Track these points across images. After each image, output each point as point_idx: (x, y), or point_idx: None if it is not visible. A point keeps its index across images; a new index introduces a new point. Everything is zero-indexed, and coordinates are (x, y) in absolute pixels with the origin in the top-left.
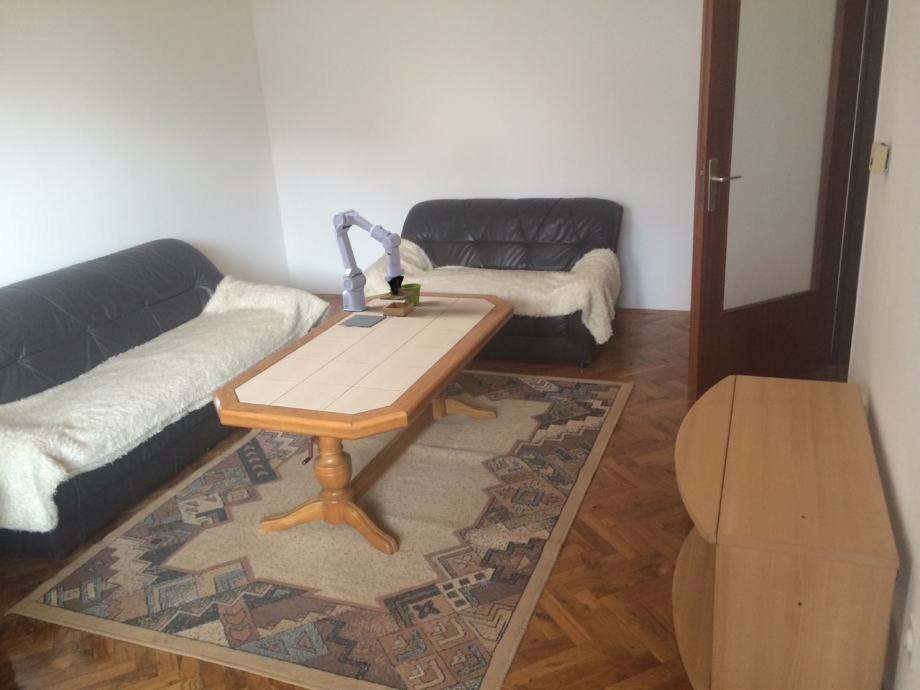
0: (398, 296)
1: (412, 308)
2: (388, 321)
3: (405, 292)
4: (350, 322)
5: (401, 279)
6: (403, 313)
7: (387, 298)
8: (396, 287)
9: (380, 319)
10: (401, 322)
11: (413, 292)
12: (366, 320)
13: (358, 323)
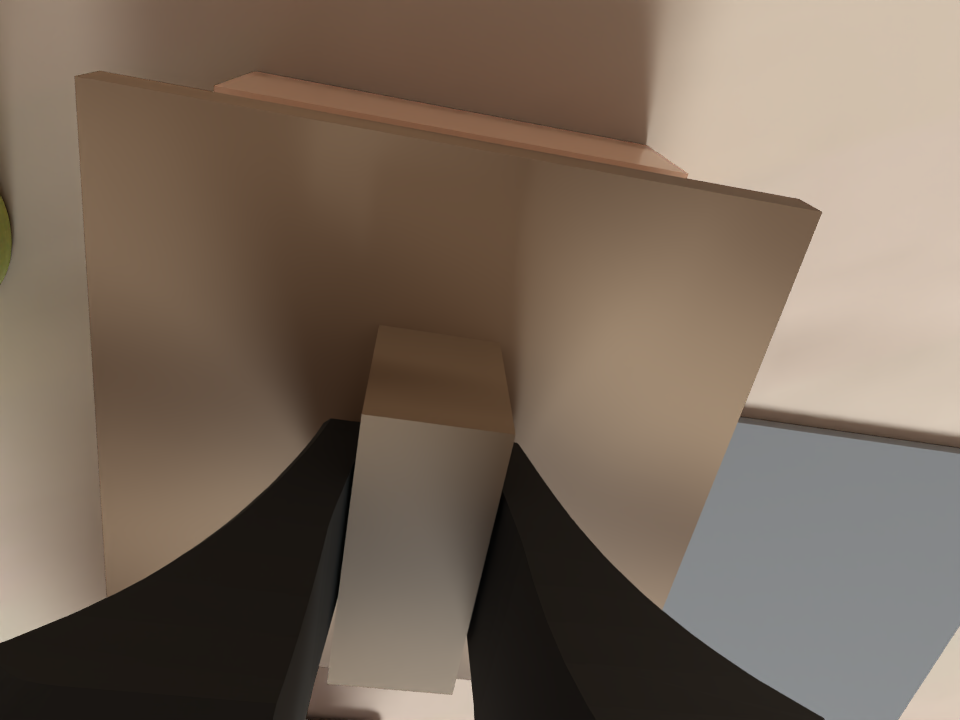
0: (577, 379)
1: (295, 85)
2: (837, 314)
3: (177, 317)
4: (817, 693)
5: (293, 668)
6: (661, 156)
7: (678, 558)
8: (608, 567)
9: (771, 437)
10: (947, 94)
11: (107, 79)
12: (778, 575)
13: (882, 615)
